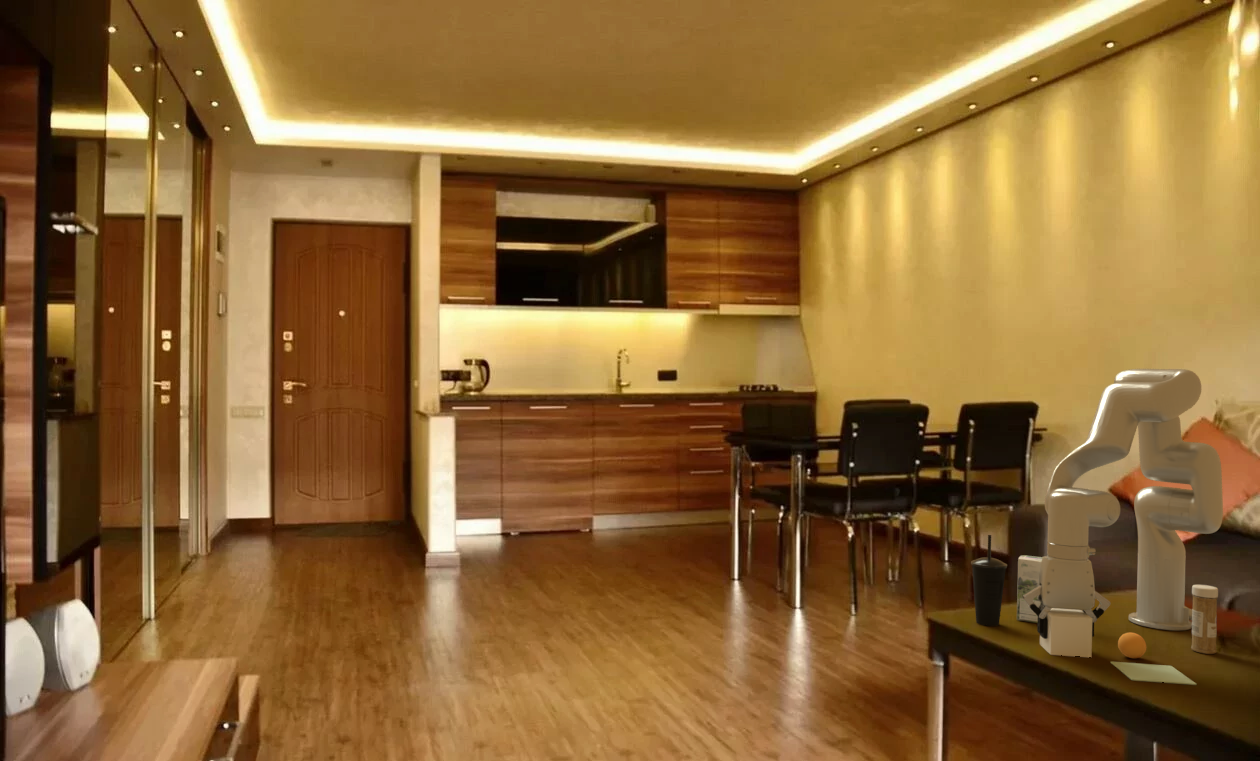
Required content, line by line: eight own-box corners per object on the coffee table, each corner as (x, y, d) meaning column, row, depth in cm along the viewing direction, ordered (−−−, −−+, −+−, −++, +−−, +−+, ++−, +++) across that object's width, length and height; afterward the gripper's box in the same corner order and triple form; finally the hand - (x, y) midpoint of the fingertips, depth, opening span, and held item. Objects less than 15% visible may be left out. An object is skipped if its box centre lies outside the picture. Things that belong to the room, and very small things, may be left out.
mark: (1171, 666, 177) (1171, 665, 177) (1196, 685, 166) (1196, 683, 166) (1110, 662, 179) (1110, 661, 179) (1131, 680, 168) (1131, 679, 168)
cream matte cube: (1078, 646, 189) (1079, 609, 189) (1091, 657, 182) (1092, 618, 182) (1039, 644, 191) (1040, 606, 191) (1050, 654, 183) (1051, 615, 183)
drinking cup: (999, 619, 210) (1001, 533, 210) (1010, 628, 203) (1012, 538, 203) (965, 618, 211) (967, 531, 211) (974, 626, 203) (977, 537, 203)
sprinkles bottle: (1219, 655, 186) (1221, 589, 186) (1194, 653, 187) (1195, 587, 187) (1212, 649, 190) (1214, 585, 190) (1187, 647, 191) (1189, 583, 191)
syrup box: (1046, 619, 212) (1048, 557, 212) (1042, 624, 207) (1044, 560, 207) (1020, 615, 215) (1022, 553, 215) (1016, 620, 210) (1017, 557, 210)
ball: (1140, 655, 184) (1140, 630, 184) (1150, 662, 180) (1150, 637, 180) (1113, 653, 185) (1114, 628, 185) (1123, 660, 180) (1123, 635, 180)
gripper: (1106, 551, 189) (1104, 636, 189) (1017, 546, 191) (1015, 630, 191) (1119, 558, 181) (1117, 646, 181) (1027, 553, 184) (1025, 640, 184)
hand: (1065, 637), depth 186 cm, fingers closed on cream matte cube, 7 cm apart
